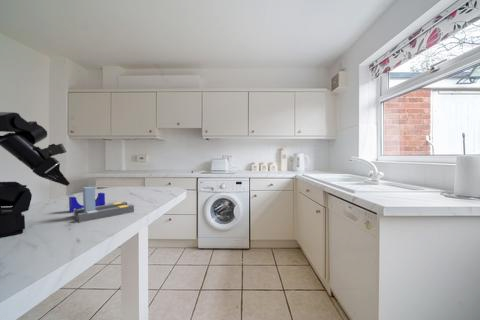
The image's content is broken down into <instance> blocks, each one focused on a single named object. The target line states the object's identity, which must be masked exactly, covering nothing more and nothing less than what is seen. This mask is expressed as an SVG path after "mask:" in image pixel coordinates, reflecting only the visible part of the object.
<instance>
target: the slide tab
mask: <svg viewBox="0 0 480 320" xmlns="http://www.w3.org/2000/svg"><path fill="white" fill-rule="evenodd" d="M82 197H83V198H82V199H83V200H82V201H83V207H84V212H87V211H93V210H96V209H95V200H96V187H95V186H85V187H83V186H82Z"/></svg>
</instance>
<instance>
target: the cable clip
mask: <svg viewBox="0 0 480 320" xmlns="http://www.w3.org/2000/svg"><path fill="white" fill-rule="evenodd" d="M68 199H69V200H68V203H69V205H68V206H69V212H70V213H72V214H74V210H75V209H81V208H84V207H83V205H82V204H81V203H79V202H78V200H77V197H76V196H69V197H68ZM101 205H106V194H105V193H104V192H97V196H96V198H95V206H101Z"/></svg>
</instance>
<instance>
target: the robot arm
mask: <svg viewBox="0 0 480 320" xmlns="http://www.w3.org/2000/svg"><path fill="white" fill-rule="evenodd" d="M3 132H4V133H5V134H3V135H0V147H1V148H3V149H4V150H5V151H7V152H8V153H10V155H11V156H13V157H15V159H17V160H19V161H20V162H21V163H22V164H24V165H25V166H26V167H27V168H29V169H30V170H31V171H32V172H33V174H35V175H36V176H38V177H40V178H41V179H42V178H44V179H45V180H49V181H51V182H54V183H56V184H57V183H58V184H60V185H63V186H67V187H68V186H69V185H70V182H69V180H68V179H67V177H65V175H64V174H63V173H62V172H61V170H60V168H61V167H60V165H61V164H60V161H59V160H58V159H57V158H55V157H54V156H57V155H62V154H65V153H67V150H66V148H65V146H64V144H63V143H58V144H55V143H52V144H48V146H47V147H44V148H41V147H39V146H36V144H38V143H40V142H41V141H43V140H44V139H47V137H48V131H47V130H46V129H45V128H44V127H43V126H42V125H40V124H38V122H37V121H36V120H35V121H34V120H33V121H31V120H30V121H27V120H26V119H25V118H24V117H22V116H21V115H20V113H19V112H13V111H12V112H11V111H10V112H9V111H8V112H6V111H0V133H3ZM32 194H33V193H32V192H31V190H30V188H28V185H27V184H21V183H20V182H17V181H0V238H3V237H9V236H14V235H19V234H23V233H24V230H25V229H26V219H25V214H23V213H25V212H28V211H29V209H30V206H31V205H30V204H31V201H32V196H33V195H32Z"/></svg>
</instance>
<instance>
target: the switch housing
mask: <svg viewBox="0 0 480 320" xmlns="http://www.w3.org/2000/svg"><path fill="white" fill-rule="evenodd" d="M95 209H96V210H93V211H87V212H84V208H81V209H74V213H73V217H74V218H75V219H76V220H77V222H79V223H84V222H90V221H93V220H100V219H104V218H110V217H114V216H119V215H124V214H129V213H134V212H135V205H133V204H128V202H126V201H118V202H117V201H116V202H112V203H108V204H105V205H101V206H95Z"/></svg>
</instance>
